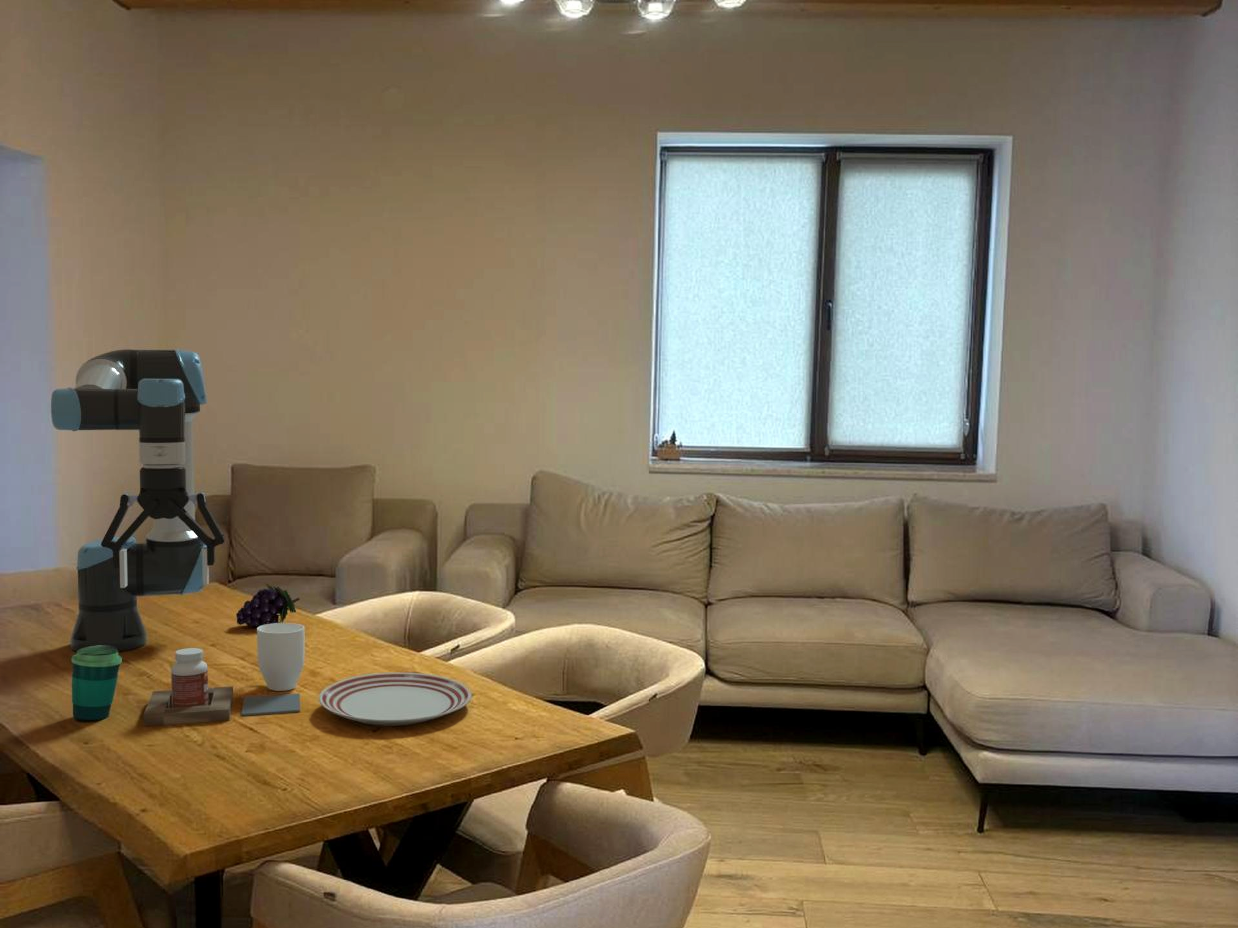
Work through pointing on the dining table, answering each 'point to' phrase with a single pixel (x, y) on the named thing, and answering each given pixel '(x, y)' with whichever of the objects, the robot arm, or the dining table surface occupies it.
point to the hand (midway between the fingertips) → (165, 585)
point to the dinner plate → (394, 698)
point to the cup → (94, 682)
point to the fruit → (266, 607)
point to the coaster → (271, 704)
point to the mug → (281, 654)
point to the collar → (188, 708)
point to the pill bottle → (189, 679)
